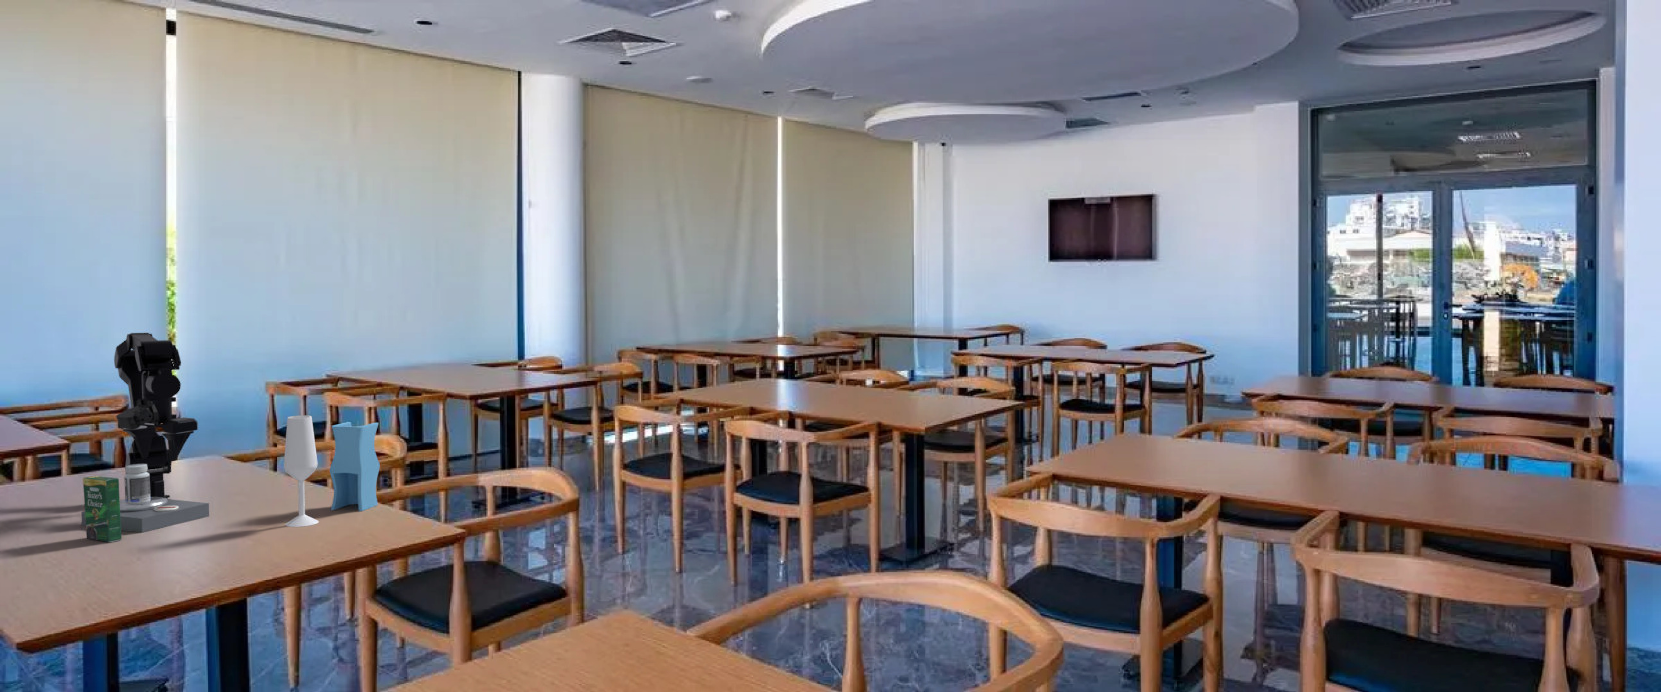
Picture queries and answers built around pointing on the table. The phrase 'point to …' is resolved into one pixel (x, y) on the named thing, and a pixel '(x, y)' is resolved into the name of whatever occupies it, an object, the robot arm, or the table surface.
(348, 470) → the blue wavy hollow stand
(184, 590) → the table surface
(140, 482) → the pill bottle
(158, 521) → the scale
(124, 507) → the scale pan
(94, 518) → the coffee box
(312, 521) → the champagne flute
